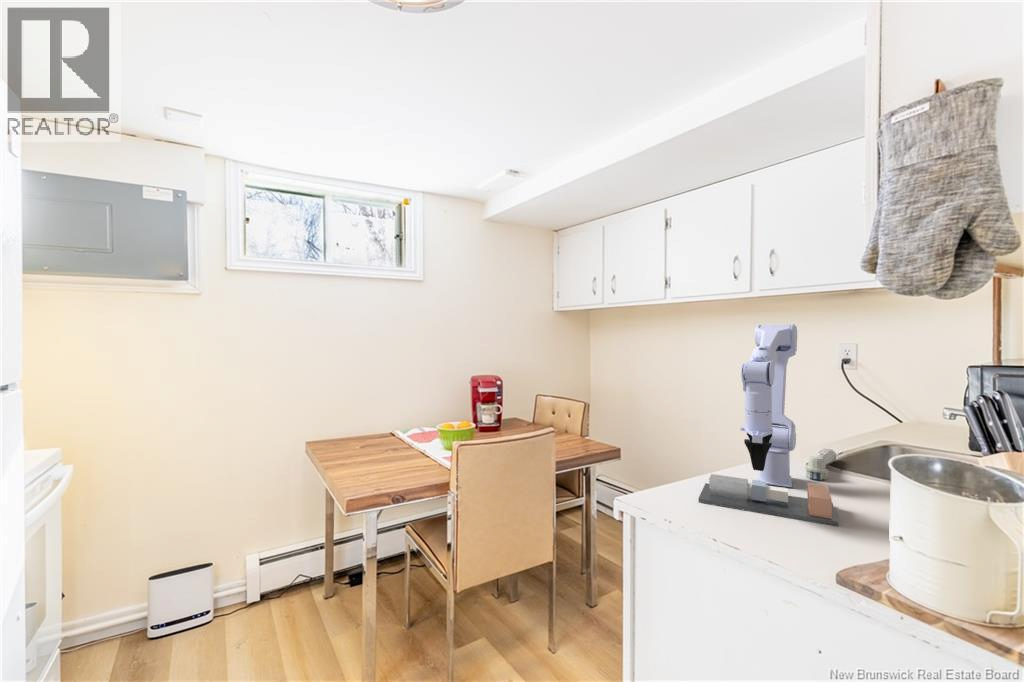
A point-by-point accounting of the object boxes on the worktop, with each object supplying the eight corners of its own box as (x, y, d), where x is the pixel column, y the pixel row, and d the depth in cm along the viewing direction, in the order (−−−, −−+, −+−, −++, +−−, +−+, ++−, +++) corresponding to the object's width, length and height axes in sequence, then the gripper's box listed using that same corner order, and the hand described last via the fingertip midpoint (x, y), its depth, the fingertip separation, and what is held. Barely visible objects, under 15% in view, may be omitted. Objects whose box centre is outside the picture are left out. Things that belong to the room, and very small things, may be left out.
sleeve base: (705, 486, 119) (705, 468, 119) (832, 506, 104) (832, 485, 104) (698, 502, 109) (698, 482, 109) (837, 526, 94) (837, 503, 94)
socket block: (807, 499, 106) (807, 482, 106) (827, 502, 104) (827, 485, 104) (809, 515, 98) (809, 496, 98) (831, 518, 96) (831, 499, 95)
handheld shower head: (839, 449, 138) (825, 456, 120) (839, 471, 138) (825, 481, 120) (819, 446, 142) (803, 453, 124) (818, 467, 141) (802, 477, 123)
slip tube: (715, 488, 114) (715, 474, 114) (788, 499, 106) (787, 484, 106) (713, 493, 111) (713, 479, 111) (788, 505, 102) (788, 490, 102)
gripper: (741, 404, 115) (742, 455, 115) (737, 414, 102) (738, 471, 103) (773, 406, 111) (773, 459, 111) (772, 416, 99) (773, 476, 99)
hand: (759, 465), depth 107 cm, fingers open, 7 cm apart
